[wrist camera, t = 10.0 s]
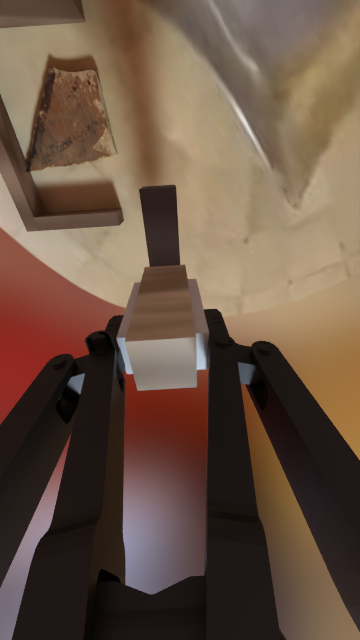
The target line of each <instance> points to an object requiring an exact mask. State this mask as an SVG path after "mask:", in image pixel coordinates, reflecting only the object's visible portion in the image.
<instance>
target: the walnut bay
mask: <svg viewBox="0 0 360 640" xmlns="http://www.w3.org/2000/svg"><path fill="white" fill-rule="evenodd" d="M79 22H85V18H84V13H83V7H82V2H81V0H0V28H7V27H22V26H36V25H50V24H65V23H79ZM26 169H27V163H26V160H25V158H24V155H23V153H22V150H21V147H20V145H19V142H18V140H17V137H16V134H15V132H14V129H13V127H12V124H11V121H10V119H9V116H8V114H7V111H6V108H5V106H4V103H3V101H2V98H1V95H0V172H1V174H2V177H3V179H4V181H5V183H6V185H7V188H8V190H9V192H10V194H11V197H12V199H13V201H14V203H15V205H16V208H17V210H18V212H19V214H20V216H21V219H22V221H23V223H24V225H25V228H26V230H27V232H28V231H43V230H58V229H73V228H88V227H103V226H118V225H120V224H121V223H122V222H123V221H124V219H123V214H122V209H121V208H120V209H105V210H90V211H75V212H60V213H46V212H45V210H44V207H43V205H42V202H41V199H40V197H39V194H38V192H37V189H36V186H35V184H34V181H33V179H32V176H31V173H30V172H28V173H27V172H26Z"/></svg>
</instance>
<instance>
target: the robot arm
mask: <svg viewBox="0 0 360 640" xmlns="http://www.w3.org/2000/svg"><path fill="white" fill-rule="evenodd" d="M187 280H188V286H189V293H190V299H191V306H192V312H193V319H194V325H195V331H196V346H197V370H199V369H207V368H208V367H209V378H208V429H207V480H206V485H207V486H206V530H205V571H204V572H205V573H204V576H191V577H188V578H186V579H184V580H182V581H180V582H178V583H176V584H174V585H172V586H170V587H168V588H166V589H164V590H162V591H160V592H158V593H156V594H153V595H150V594H147V593H144V592H142V591H139V590H137V589H134V588H131V587H129V586H126V585H125V548H124V542H123V532H122V531H123V476H124V475H123V474H124V422H125V421H124V418H125V378H124V371H125V369H126V373H127V374H133V371H132V367H131V364H130V360H129V356H128V353H127V349H126V345H125V339H126V335H127V331H128V328H129V324H130V320H131V317H132V313H133V309H134V306H135V302H136V298H137V295H138V291H139V287H140V284H141V282H139V283H134V286H133V289H132V292H131V295H130V298H129V301H128V304H127V307H126V311H125V313H124V315H118V316H114V317H112V318H111V319H110V320H109V322H108V324H107V327H106V329H105V331H97V332H94V333H92V334H90V335H89V336H88V337H86V339H85V343H86V345H87V348H88V350H89V355H86V356H83V357H80V358H76V359H74V358H73V356H72V355H70V354H61V355H58V356H55V357H54V358H52V359H51V360H50V361H49V362H48V363H47V364H46V365H45V366H44V368H43V369H42V370H41V372H40V373H39V374H38V376H37V377H36V379H35V380H34V381H33V382H32V384H31V385H30V386H29V388H28V389H27V391H26V392H25V393H24V394H23V396H22V397H21V398H20V400H19V401H18V402H17V404H16V405H15V406H14V408H13V409H12V410H11V412H10V413H9V414H8V416H7V417H6V418H5V420H4V421H3V422H2V424H1V425H0V587H1V585H2V582H3V580H4V578H5V576H6V574H7V572H8V569H9V567H10V565H11V563H12V561H13V558H14V556H15V554H16V552H17V550H18V548H19V545H20V543H21V541H22V539H23V537H24V535H25V532H26V530H27V528H28V526H29V524H30V521H31V519H32V517H33V515H34V513H35V511H36V508H37V506H38V504H39V502H40V500H41V497H42V495H43V493H44V491H45V489H46V486H47V484H48V482H49V480H50V477H51V475H52V473H53V471H54V469H55V467H56V465H57V462H58V460H59V458H60V456H61V454H62V451H63V449H64V447H65V445H66V443H67V441H68V439H69V436H70V434H71V432H72V434H71V438H70V442H69V447H68V451H67V456H66V460H65V465H64V470H63V474H62V478H61V483H60V487H59V492H58V497H57V501H56V505H55V510H54V515H53V519H52V522H51V525H50V528H49V530H48V531H47V532H46V533H45V535H44V536H43V537H42V538H41V539H40V541H39V543H38V545H37V547H36V549H35V552H34V556H33V558H32V562H31V565H30V570H29V573H28V577H27V581H26V585H25V589H24V593H23V597H22V601H21V605H20V609H19V613H18V617H17V621H16V625H15V629H14V633H13V637H12V640H286V638H285V637H284V635H283V634H282V632H281V630H280V629H279V625H278V618H277V611H276V604H275V597H274V590H273V584H272V577H271V570H270V563H269V556H268V549H267V543H266V537H265V532H264V529H263V525H262V523H261V520H260V518H259V515H258V511H257V504H256V496H255V488H254V481H253V474H252V466H251V459H250V451H249V443H248V435H247V428H246V420H245V413H244V405H243V398H242V390H241V383H243V384H245V385H246V388H247V390H248V392H249V394H250V397H251V399H252V401H253V403H254V406H255V408H256V410H257V412H258V414H259V417H260V419H261V421H262V423H263V425H264V428H265V430H266V432H267V434H268V437H269V439H270V441H271V443H272V446H273V448H274V450H275V452H276V455H277V457H278V459H279V461H280V464H281V466H282V468H283V470H284V473H285V475H286V477H287V479H288V481H289V483H290V486H291V488H292V490H293V493H294V495H295V497H296V499H297V502H298V504H299V506H300V508H301V510H302V513H303V515H304V517H305V519H306V522H307V524H308V526H309V528H310V531H311V533H312V535H313V537H314V539H315V542H316V544H317V546H318V548H319V550H320V553H321V555H322V557H323V559H324V562H325V564H326V566H327V569H328V571H329V573H330V575H331V577H332V580H333V582H334V584H335V586H336V588H337V590H338V592H339V594H340V596H341V598H342V600H343V602H344V604H345V606H346V608H347V610H348V612H349V614H350V615H351V617H352V619H353V621H354V622H355V624H356V626H357V628H358V630H359V631H360V460H359V459H358V457H357V456H356V455H355V453H354V452H353V451H352V449H351V448H350V446H349V445H348V444H347V442H346V441H345V440H344V438H343V437H342V436H341V434H340V433H339V431H338V430H337V429H336V427H335V426H334V425H333V423H332V422H331V420H330V419H329V418H328V416H327V415H326V414H325V412H324V411H323V409H322V408H321V407H320V406H319V404H318V403H317V401H316V400H315V399H314V397H313V396H312V394H311V393H310V392H309V390H308V389H307V388H306V386H305V385H304V383H303V382H302V381H301V379H300V378H299V377H298V375H297V374H296V372H295V371H294V370H293V368H292V367H291V366H290V364H289V363H288V362H287V360H286V359H285V357H284V356H283V355H282V353H281V352H280V351H279V349H278V348H277V347H276V346H275V345H274V344H272V343H270V342H266V341H257V342H255V343H253V344H252V346H251V347H249V346H243V345H239V344H237V343H235V341H234V340H233V339H232V338H231V337H229V334H228V331H227V328H226V325H225V323H224V320H223V317H222V314H221V312H219V311H218V310H217V309H205V310H204V309H203V305H202V301H201V297H200V293H199V288H198V284H197V280H196V279H187Z"/></svg>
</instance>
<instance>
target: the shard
mask: <svg viewBox="0 0 360 640" xmlns="http://www.w3.org/2000/svg"><path fill="white" fill-rule="evenodd" d="M116 155H117V150H116V147H115V144H114V140H113V136H112V133H111V129H110V125H109V121H108V118H107V112H106V106H105V101H104V97H103V91H102V87H101V84H100V81H99V79H98V76H97V73H96V72H95V71H94V70H85V71H79V72H67V71H62V70H58V69H56V68H55V67H54V66H53V65H51V64H50V66H49V72H48V74H47V80H46V82H45V85H44V90H43V98H42V100H41V102H40V108H39V112H38V115H37V119H36V125H35V128H34V134H33V141H32V150H31V155H30V158H29V160H28V163H27V169H26V172H27V173H28V172H35V171H40V170H44V169H47V168H52V167H58V166H71V165H80V164H85V163H88V162H96V161H99V160H102V159H103V158H105V157H113V156H116Z"/></svg>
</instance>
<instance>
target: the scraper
mask: <svg viewBox="0 0 360 640" xmlns="http://www.w3.org/2000/svg"><path fill="white" fill-rule="evenodd" d="M139 192H140V199H141V206H142V213H143V220H144V227H145V235H146V242H147V249H148V256H149V263H150V267H145V269H144V273H143V276H142V280H141V284H140V287H139V291H138V295H137V298H136V302H135V306H134V309H133V313H132V317H131V320H130V324H129V328H128V331H127V335H126V339H125V345H126V349H127V353H128V356H129V360H130V364H131V367H132V371H133V375H134V378H135V382H136V386H137V389H138V391H141V390H156V389H172V388H188V387H197V346H196V331H195V325H194V319H193V312H192V306H191V299H190V293H189V286H188V280H187V274H186V267H185V265H180V254H179V235H178V216H177V197H176V186H175V185H165V186H149V187H143V188H141V189H139Z"/></svg>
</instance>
